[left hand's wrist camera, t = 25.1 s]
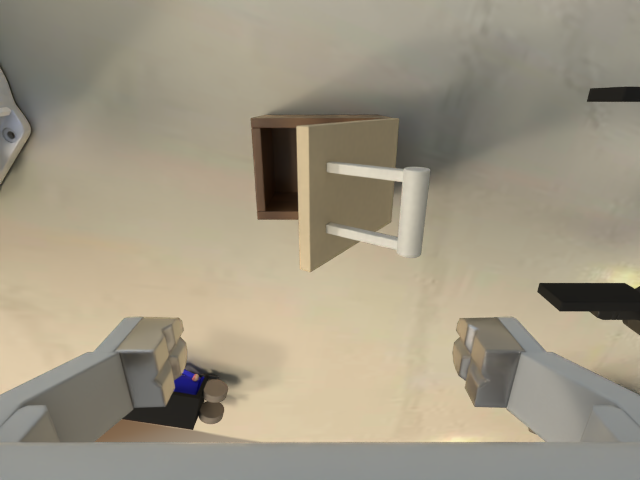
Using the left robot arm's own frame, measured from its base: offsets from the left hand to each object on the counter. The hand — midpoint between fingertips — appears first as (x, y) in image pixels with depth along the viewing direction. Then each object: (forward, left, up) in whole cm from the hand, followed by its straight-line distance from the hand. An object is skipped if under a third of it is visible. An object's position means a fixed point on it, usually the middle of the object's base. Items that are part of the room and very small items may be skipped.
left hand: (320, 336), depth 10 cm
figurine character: (-41, 0, -36) cm, 54 cm away
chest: (0, 0, -36) cm, 36 cm away
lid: (+1, -2, -20) cm, 21 cm away
